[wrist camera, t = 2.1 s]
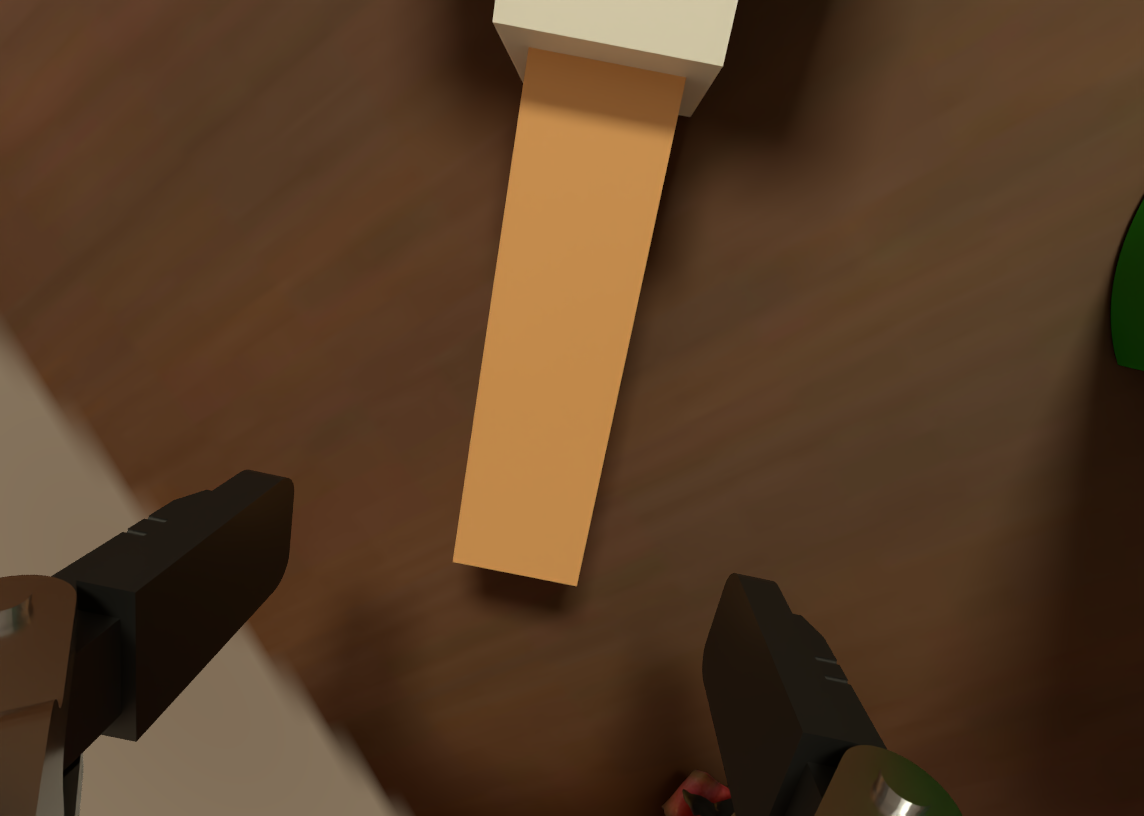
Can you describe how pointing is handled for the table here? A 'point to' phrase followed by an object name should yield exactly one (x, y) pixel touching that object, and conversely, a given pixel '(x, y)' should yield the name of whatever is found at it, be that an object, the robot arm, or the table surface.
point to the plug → (573, 260)
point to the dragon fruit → (700, 797)
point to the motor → (1130, 298)
